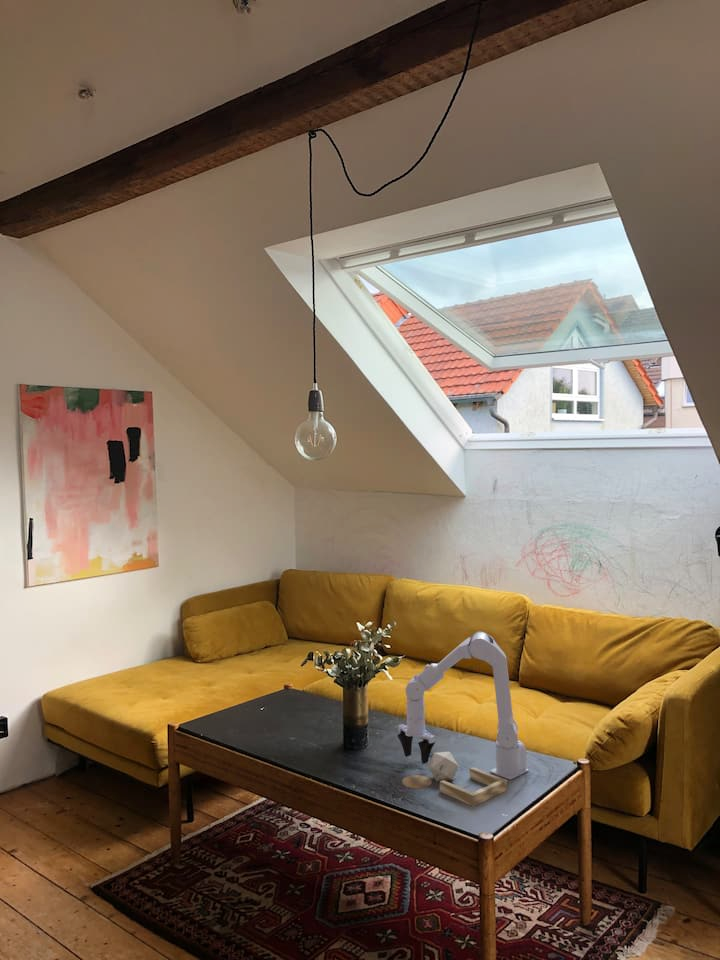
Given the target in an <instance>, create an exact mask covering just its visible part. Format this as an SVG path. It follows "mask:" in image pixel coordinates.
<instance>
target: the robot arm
mask: <svg viewBox="0 0 720 960" xmlns="http://www.w3.org/2000/svg"><path fill="white" fill-rule="evenodd" d="M472 657H473V658H475V659H478V660H480V661H484V662H486V663H487V664H488V665H491V666H492V672H493V674H492V675H493V682H494V691H495V701H496V702H495V703H496V709H497V720H498V723H497V727H496V729H497V735H496V741H495V768H493V769H490V771H489V772H490V773H491V774H493V775H496V776H498V777H501V778H502V777H503V778H504V779H506V780H513V779H514V778H517V777H518V776H521V775H523V774H525V773H527V772H529V771H530V770H529V768H527V748H526V746H525V744H524V743H523V742H522V741H520V740H519V737H518V724H517V722H516V721H515V719H514V714H513V705H512V704H513V703H512V698H511V697H512V696H511V687H510V678H509V670H508V660H507V659H508V658H507V655H506V653H505V651H503V650H502V649H501V647H500V646H499V645H498V643H497V642H496V641H495V638H493V636H491V635H489V634H488V633H486V632H484V631H477V632H475V633H474V634H472V636H469V637H468V638H466V639H465V640H463V641H462V642H460V644H458V645H457V646H456V647H455V648H454V649H453V650H452V651H451V652H450V653H448V654H447V655H446V656H445V657H444V658H443V659H442V660H440V661H439V662H438V663H433V662H432V663H430V664H429V663H427V664H426V665H425V666H424V669H423V670H422V671H421V672H420V673H418V674H414V675H413V678H411V679H409V680H408V682H407V684H406V686H405V691H404V692H405V696H406V724H403V723H400V724H398V725H397V729H398V730H397V731H398V732H400V733H398V734H397V738H398V740H399V742H400V743H401V747H402V750H403V753H404V757H407V758H408V757H409V756H412V750H413V749H412V744H413V738H418V739H419V740H421V741H418V742H417V743H418V746H419V751H420V760H421V763H422V764H423V765H424V764H427V763H428V762H429V759H430V755H431V752H432V749H433V747H434V745H435V744H436V739H435V738H436V737H435V735H434V734H431V733H430V732H429V731H428V730H426V719H425V718H426V714H425V713H426V710H425V708H426V707H425V705H426V704H425V703H426V702H425V692H426V691H429V690H430V689H432V688H433V687H434V686H436V685H437V684H438V683H439V682H440V681H442V680H443V679H444V676H445V675H444V674H445V672H446V671H447V670H449V669H451V668H452V667H453V666H454V665H455V664H456V663H458V662H460V661H461V660H462V659H468V660H469V659H472Z"/></svg>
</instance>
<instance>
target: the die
mask: <svg viewBox="0 0 720 960" xmlns="http://www.w3.org/2000/svg"><path fill="white" fill-rule="evenodd" d="M458 767H459V764H458V763H457V761H456V759H455V758H454V756H453V754H452V753H451V752H450V751H441V752H440V751H438V752H433V755H432V757H431V759H430V762H429V764H428V769H429V770H430V773H431V774H432V776H433V778H434V779H435V781H436V782H440V781H442V780H444V781H453V780H454V778H455V775H456V772H457V770H458Z"/></svg>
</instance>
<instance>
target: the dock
mask: <svg viewBox="0 0 720 960" xmlns="http://www.w3.org/2000/svg"><path fill="white" fill-rule="evenodd" d="M469 779H471V780H474V781H476V782H478V783H481V784H483V785H487V786H484V787H482V788H480V789H478V790H475V791H474V792H472V791H470V790H468V789H465V788H463V787H461V786H459V785H458V786H457V785H456V784H453V783H451V782H449V781H447V780H445V781H444V780H442V781H439V792H440V793H442V794H444V795H447V796H449V797H451V798H454V799H456V800H458V801H461V802H462V803H465V804H467V805H469V806H472V807H475V806H477V805H480V804H482V803H483V802H486V801H488V800H490V799H491V798H495V797H496V796H498V795H500V794H502V793H504V792H506V791H508V779H506V778H504V777H503V778H502V777H501V776H498V775H496V774H493V773H491V772H490V773H489V772H486V771H484V770H481V769H479V768H476V767H473V766H472V767H470V768H469Z"/></svg>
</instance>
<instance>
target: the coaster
mask: <svg viewBox="0 0 720 960" xmlns="http://www.w3.org/2000/svg"><path fill="white" fill-rule="evenodd" d="M401 783H402V785H404V786H405V787H407V788H410V789H411V788H412V789H424V788H425V789H426V788H427V787H430V786H431V785H432V783H433V782H432V779H431V778H430V777H428V776H425V775H422V774H421V775H419V774H413V775H408V776H405V777H404V778H402V781H401Z"/></svg>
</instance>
